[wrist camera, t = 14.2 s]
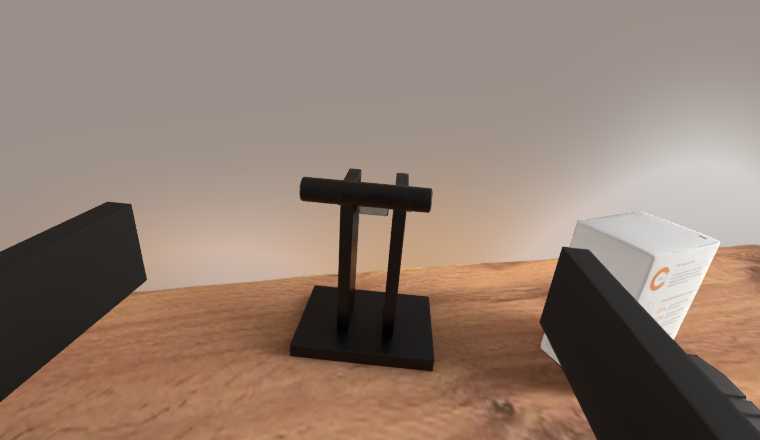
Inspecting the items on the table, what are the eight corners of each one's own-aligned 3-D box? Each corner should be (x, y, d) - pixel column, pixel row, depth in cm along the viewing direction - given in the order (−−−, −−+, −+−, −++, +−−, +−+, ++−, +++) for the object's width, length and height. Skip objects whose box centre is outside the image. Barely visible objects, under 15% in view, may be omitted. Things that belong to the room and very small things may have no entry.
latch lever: (429, 223, 19) (434, 177, 19) (297, 210, 20) (301, 165, 20) (416, 218, 32) (419, 189, 31) (334, 210, 32) (336, 182, 32)
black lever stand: (432, 371, 31) (460, 206, 25) (290, 356, 32) (284, 189, 26) (427, 306, 39) (447, 169, 33) (314, 294, 40) (315, 158, 34)
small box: (596, 327, 38) (640, 209, 33) (660, 373, 33) (725, 240, 27) (536, 347, 35) (575, 218, 30) (597, 401, 29) (657, 256, 24)
